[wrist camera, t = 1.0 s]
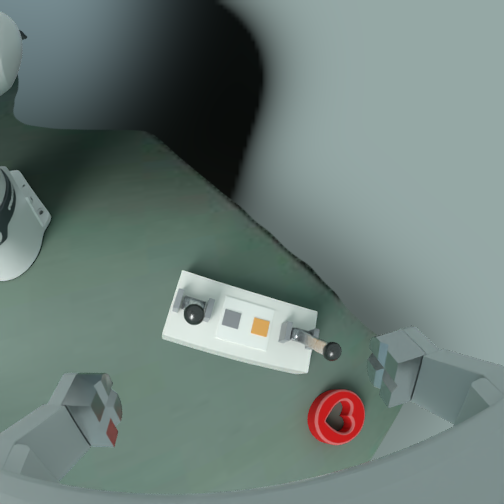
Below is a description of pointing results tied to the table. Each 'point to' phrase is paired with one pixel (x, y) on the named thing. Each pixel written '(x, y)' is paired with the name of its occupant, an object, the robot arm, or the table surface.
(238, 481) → the table surface
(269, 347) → the switch unit
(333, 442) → the decorative ornament
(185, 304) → the lever
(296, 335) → the lever
